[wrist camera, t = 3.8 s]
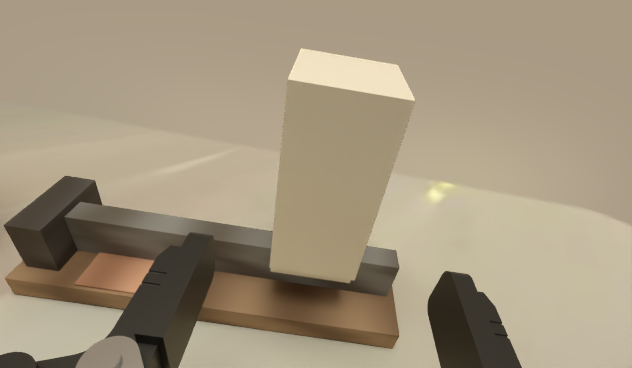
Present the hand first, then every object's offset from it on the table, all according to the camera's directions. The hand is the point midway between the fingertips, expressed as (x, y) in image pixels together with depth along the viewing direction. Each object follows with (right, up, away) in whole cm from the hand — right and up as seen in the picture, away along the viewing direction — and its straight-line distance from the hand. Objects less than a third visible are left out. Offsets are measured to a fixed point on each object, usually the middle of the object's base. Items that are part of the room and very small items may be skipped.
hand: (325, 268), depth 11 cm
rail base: (-7, -4, +12) cm, 14 cm away
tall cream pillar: (-1, -2, +10) cm, 11 cm away
